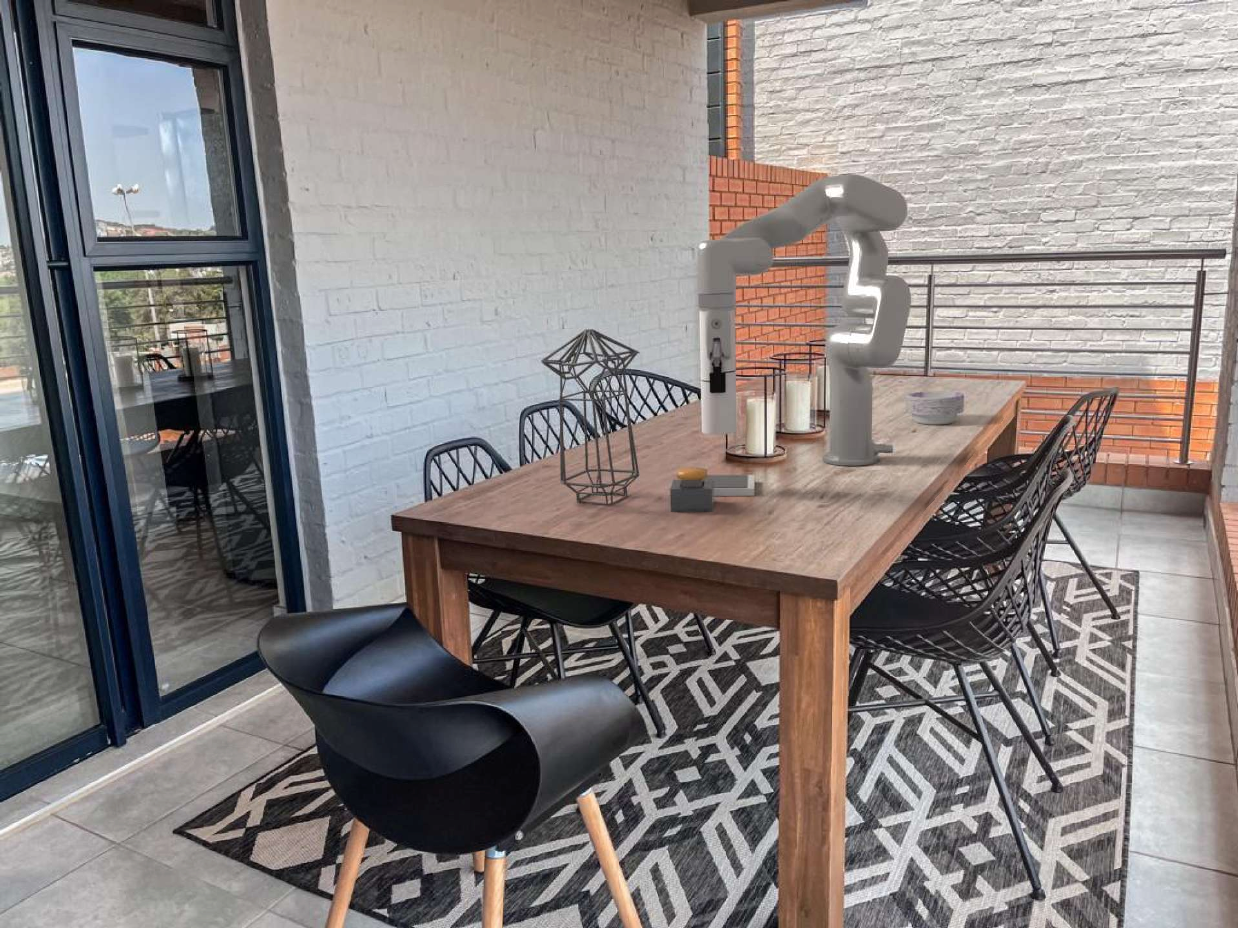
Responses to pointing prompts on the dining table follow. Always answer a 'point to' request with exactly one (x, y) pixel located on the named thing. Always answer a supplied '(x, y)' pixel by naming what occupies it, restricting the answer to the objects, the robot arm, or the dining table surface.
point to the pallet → (733, 485)
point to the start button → (692, 476)
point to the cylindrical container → (718, 405)
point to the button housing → (692, 497)
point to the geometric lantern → (579, 344)
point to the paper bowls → (934, 406)
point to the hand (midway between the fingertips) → (718, 389)
